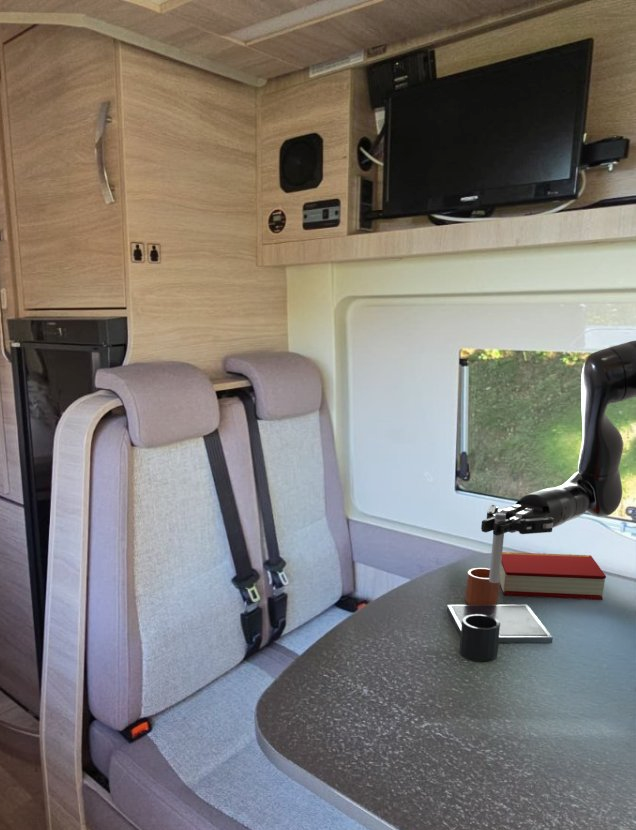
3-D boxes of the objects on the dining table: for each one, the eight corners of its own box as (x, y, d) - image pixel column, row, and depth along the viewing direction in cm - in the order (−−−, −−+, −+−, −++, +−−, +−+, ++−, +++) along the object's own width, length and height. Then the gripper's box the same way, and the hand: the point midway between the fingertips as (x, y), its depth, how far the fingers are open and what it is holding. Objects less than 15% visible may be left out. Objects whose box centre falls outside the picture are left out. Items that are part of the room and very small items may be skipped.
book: (586, 576, 152) (589, 553, 151) (602, 599, 141) (606, 576, 139) (495, 572, 156) (497, 550, 155) (503, 595, 145) (506, 572, 143)
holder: (491, 645, 125) (494, 614, 123) (501, 662, 120) (504, 629, 118) (456, 645, 126) (458, 614, 124) (464, 661, 120) (466, 629, 118)
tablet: (526, 609, 138) (527, 603, 138) (552, 642, 125) (553, 636, 125) (446, 609, 140) (447, 604, 139) (463, 642, 127) (464, 636, 126)
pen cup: (492, 595, 145) (495, 567, 143) (501, 607, 140) (504, 578, 137) (462, 595, 146) (464, 567, 144) (469, 607, 140) (471, 579, 138)
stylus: (497, 579, 134) (504, 512, 130) (500, 583, 133) (507, 515, 128) (487, 579, 134) (494, 512, 130) (490, 583, 133) (496, 515, 128)
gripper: (514, 484, 141) (458, 500, 132) (582, 497, 131) (526, 516, 121) (511, 520, 144) (455, 539, 135) (577, 536, 133) (522, 557, 124)
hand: (489, 528), depth 128 cm, fingers closed on stylus, 2 cm apart
